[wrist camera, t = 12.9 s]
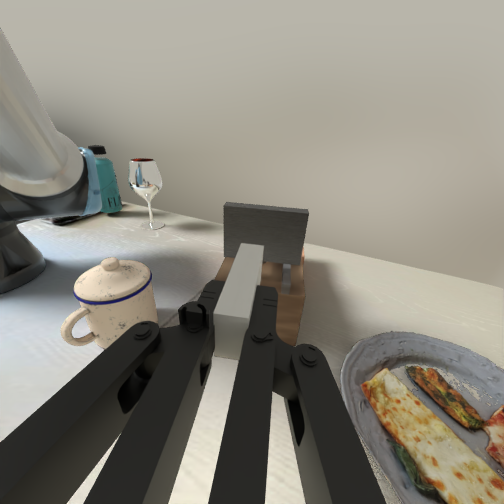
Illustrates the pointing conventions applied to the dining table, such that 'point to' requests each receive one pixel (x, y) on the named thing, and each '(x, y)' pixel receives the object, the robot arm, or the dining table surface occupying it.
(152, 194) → the wineglass
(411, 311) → the dining table surface
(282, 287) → the launcher
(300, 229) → the plunger
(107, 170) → the beverage bottle
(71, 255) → the dining table surface
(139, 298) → the teacup with lid
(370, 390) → the food plate
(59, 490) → the robot arm
